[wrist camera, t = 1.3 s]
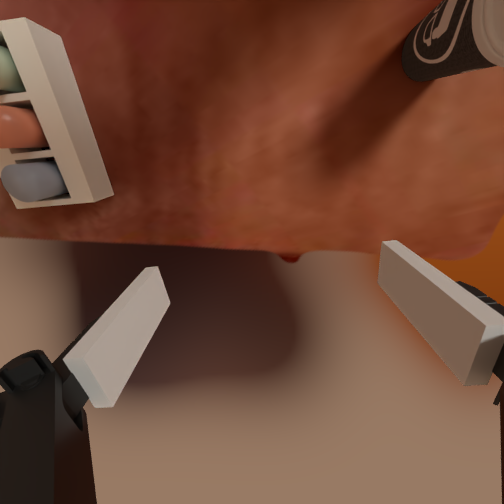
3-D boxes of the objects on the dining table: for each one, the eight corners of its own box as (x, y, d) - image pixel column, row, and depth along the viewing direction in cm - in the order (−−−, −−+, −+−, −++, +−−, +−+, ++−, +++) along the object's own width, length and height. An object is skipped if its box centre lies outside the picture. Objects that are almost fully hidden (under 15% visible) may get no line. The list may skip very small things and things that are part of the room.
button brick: (12, 111, 31) (-40, 105, 26) (45, 107, 31) (-1, 100, 25) (29, 149, 33) (-16, 150, 28) (60, 145, 33) (20, 146, 27)
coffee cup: (397, 109, 32) (499, 86, 18) (380, 28, 28) (491, -76, 15) (474, 70, 30) (653, 11, 16) (466, -23, 26) (685, -198, 13)
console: (-27, 48, 30) (-77, 32, 26) (60, 36, 30) (24, 17, 25) (45, 201, 39) (17, 209, 34) (114, 194, 38) (94, 202, 34)
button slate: (36, 162, 34) (-7, 166, 28) (65, 159, 34) (28, 162, 28) (50, 194, 36) (13, 203, 30) (78, 191, 35) (46, 200, 30)
